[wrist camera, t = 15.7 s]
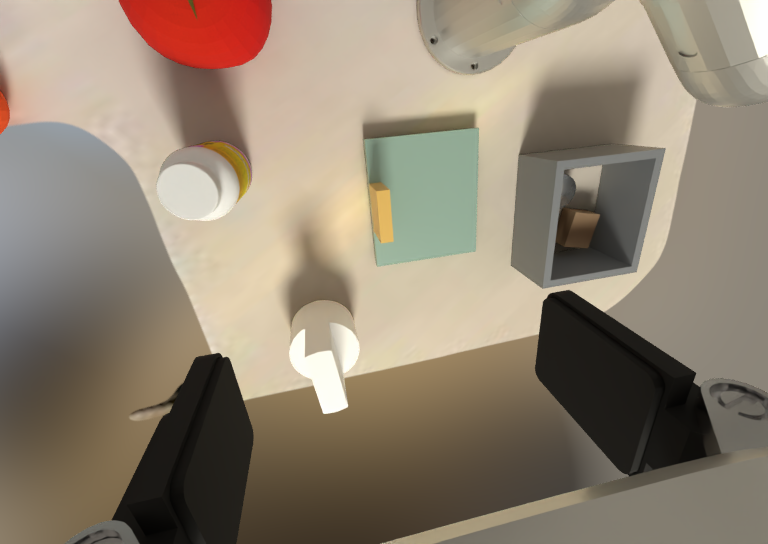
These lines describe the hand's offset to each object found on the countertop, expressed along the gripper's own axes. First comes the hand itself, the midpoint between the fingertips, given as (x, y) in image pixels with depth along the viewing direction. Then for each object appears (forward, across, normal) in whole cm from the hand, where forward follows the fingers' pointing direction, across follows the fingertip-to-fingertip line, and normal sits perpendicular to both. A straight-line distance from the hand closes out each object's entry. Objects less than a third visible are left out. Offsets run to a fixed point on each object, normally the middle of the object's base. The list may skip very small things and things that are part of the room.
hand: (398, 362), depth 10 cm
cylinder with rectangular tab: (+37, +4, +21) cm, 42 cm away
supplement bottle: (+36, +12, -2) cm, 38 cm away
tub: (+36, -32, +8) cm, 49 cm away
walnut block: (+36, -34, +11) cm, 51 cm away
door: (+37, -12, +4) cm, 39 cm away
